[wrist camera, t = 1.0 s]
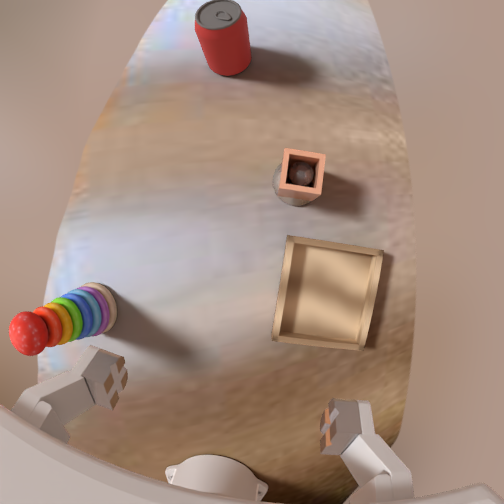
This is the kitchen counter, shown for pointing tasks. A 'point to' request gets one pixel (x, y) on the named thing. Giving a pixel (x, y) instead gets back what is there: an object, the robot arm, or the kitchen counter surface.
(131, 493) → the robot arm
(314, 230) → the kitchen counter surface
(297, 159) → the collar
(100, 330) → the stacking toy
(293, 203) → the silver knob
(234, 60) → the beer can
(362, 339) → the tray
